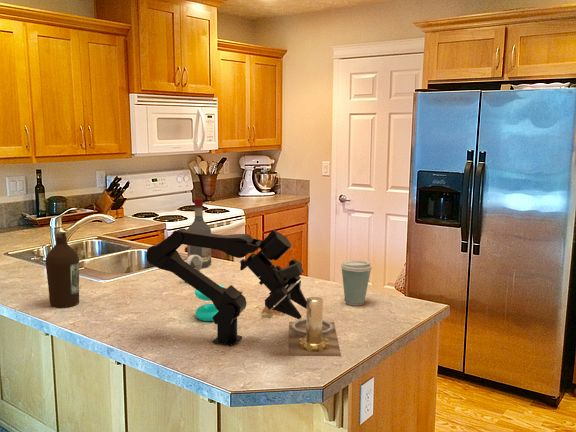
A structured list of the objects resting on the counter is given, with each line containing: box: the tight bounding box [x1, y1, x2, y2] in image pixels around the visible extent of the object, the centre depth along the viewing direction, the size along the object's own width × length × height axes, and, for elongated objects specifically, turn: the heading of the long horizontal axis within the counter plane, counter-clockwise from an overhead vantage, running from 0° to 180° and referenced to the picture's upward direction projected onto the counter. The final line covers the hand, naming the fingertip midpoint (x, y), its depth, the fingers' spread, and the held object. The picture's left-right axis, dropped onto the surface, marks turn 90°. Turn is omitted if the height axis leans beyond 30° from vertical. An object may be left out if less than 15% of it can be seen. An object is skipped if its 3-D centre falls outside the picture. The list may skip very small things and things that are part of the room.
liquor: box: [186, 197, 212, 269], centre depth 242 cm, size 9×9×30 cm
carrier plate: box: [288, 318, 342, 357], centre depth 158 cm, size 26×14×2 cm, turn 0°
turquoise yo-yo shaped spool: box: [194, 284, 226, 322], centre depth 177 cm, size 10×10×10 cm
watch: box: [184, 255, 203, 284], centre depth 217 cm, size 6×8×11 cm
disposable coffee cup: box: [340, 260, 373, 307], centre depth 192 cm, size 11×11×15 cm
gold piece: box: [299, 296, 329, 352], centre depth 151 cm, size 8×8×14 cm
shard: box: [260, 304, 286, 319], centre depth 182 cm, size 11×8×2 cm
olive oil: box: [44, 231, 80, 309], centre depth 188 cm, size 11×11×25 cm
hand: (304, 312), depth 151 cm, fingers open, 9 cm apart
